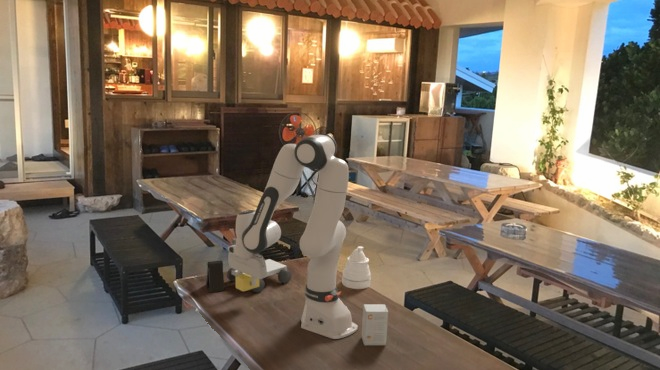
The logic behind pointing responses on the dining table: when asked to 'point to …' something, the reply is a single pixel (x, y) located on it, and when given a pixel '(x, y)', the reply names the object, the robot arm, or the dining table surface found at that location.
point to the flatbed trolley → (272, 269)
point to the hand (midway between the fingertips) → (247, 283)
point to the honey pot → (356, 270)
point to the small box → (374, 324)
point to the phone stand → (215, 276)
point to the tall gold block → (245, 282)
